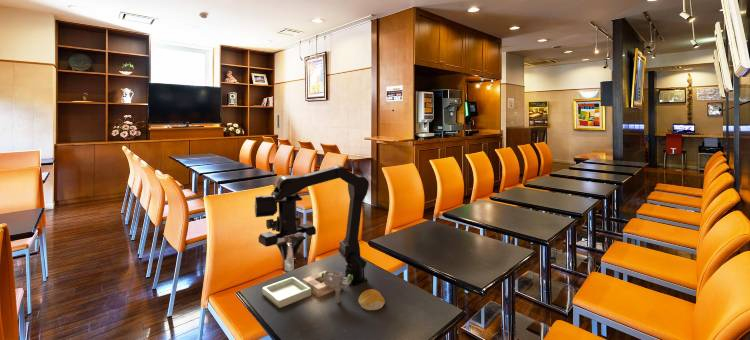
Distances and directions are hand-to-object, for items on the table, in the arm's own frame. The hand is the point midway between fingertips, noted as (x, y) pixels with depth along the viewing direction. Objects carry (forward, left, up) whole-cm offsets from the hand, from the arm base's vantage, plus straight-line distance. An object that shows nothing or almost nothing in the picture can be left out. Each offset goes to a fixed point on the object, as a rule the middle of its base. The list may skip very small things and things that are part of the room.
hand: (288, 258), depth 122 cm
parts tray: (+1, 0, -13) cm, 13 cm away
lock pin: (0, 0, -4) cm, 4 cm away
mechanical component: (-9, +16, -13) cm, 22 cm away
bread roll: (-16, +24, -14) cm, 32 cm away
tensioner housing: (-11, +4, -13) cm, 17 cm away
